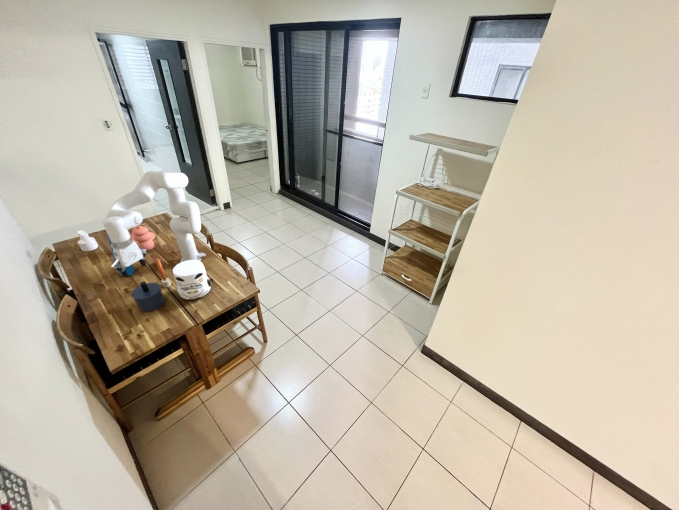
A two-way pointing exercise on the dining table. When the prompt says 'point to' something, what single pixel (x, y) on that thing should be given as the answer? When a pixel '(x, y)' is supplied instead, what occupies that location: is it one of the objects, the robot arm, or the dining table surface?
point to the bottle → (129, 269)
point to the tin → (151, 302)
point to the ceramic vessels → (143, 237)
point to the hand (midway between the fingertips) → (135, 271)
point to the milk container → (191, 279)
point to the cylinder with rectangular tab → (86, 241)
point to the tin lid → (145, 291)
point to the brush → (163, 275)
